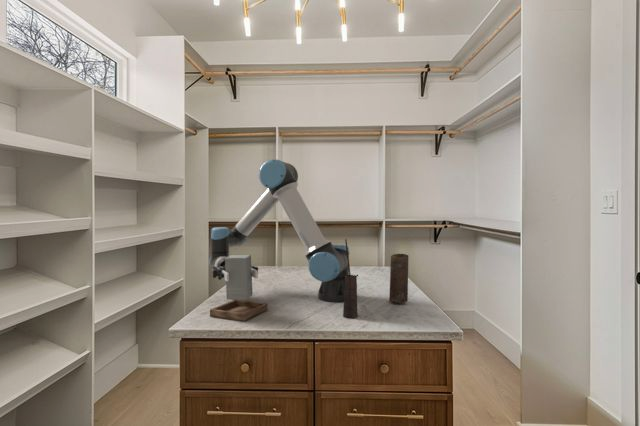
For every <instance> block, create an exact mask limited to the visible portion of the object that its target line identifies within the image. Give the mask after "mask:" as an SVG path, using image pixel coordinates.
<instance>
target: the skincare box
mask: <svg viewBox="0 0 640 426" xmlns="http://www.w3.org/2000/svg"><path fill="white" fill-rule="evenodd" d="M251 266H252V255H251V254H240V255H239V254H238V255H237V254H235V255H233V254H231V255H230V254H229V257H227V258H225V269H226V272H227V273H229V281H226V280H225V289H226V290H225V293H226V300H231V301H233V300H243V301H249V299H250V298H251V297H252V296H253V277H252V268H251Z"/></svg>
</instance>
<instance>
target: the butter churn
mask: <svg viewBox="0 0 640 426" xmlns="http://www.w3.org/2000/svg"><path fill="white" fill-rule="evenodd" d="M345 245H346V251H347V260H348V269H349V275H346V276H345V285H344V286H345V288H344V289H345V290H344V301H343V309H342V310H343V313H342V316H343V317H344V318H347V319H355V318H357V317H358V281H357V280H358V279H357V278H358V277H359V274H356V275H355V274H352V273H351V266H350V256H349V257H348V248H349V246H348V240H347V239H346V238H345ZM347 246H348V247H347Z"/></svg>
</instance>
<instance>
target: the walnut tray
mask: <svg viewBox="0 0 640 426" xmlns="http://www.w3.org/2000/svg"><path fill="white" fill-rule="evenodd" d="M268 310H269V304H268V303H266V302H259V301H258V302H257V301H250V300H231V301H228V302H226V303H223V304H221V305H218V306H216V307H213V308H211V309H209V317H210V318H211V317H212V318H218V319H222V320H223V319H224V320H231V321H237V322H243V323H245V322H247V321H249V320H251V319H253V318H255V317H257V316H259V315H261V314H263V313H265V312H267V311H268Z"/></svg>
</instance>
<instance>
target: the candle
mask: <svg viewBox="0 0 640 426" xmlns="http://www.w3.org/2000/svg"><path fill="white" fill-rule="evenodd" d="M409 258H410V257H409V255H408V254H407V253H395V254H392V255H390V273H389V274H390V275H389V276H390V277H389V295H388V296H389V298H388V299H389V303H393V304H396V305H400V304H403V303H407V302H408V300H409V297H408V295H409Z"/></svg>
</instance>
